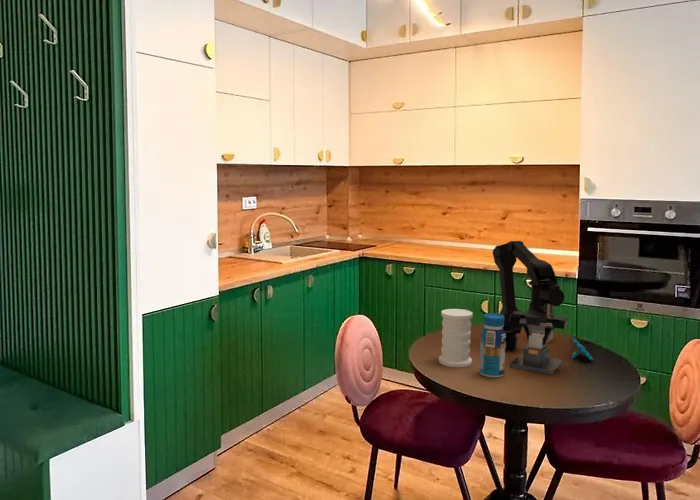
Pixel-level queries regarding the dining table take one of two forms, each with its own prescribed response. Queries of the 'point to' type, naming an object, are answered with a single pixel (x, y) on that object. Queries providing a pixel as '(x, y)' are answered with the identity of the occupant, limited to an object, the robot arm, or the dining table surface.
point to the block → (536, 341)
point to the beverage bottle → (492, 346)
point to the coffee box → (545, 324)
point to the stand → (536, 361)
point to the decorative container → (456, 338)
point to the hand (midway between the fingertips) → (537, 343)
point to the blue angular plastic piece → (580, 350)
